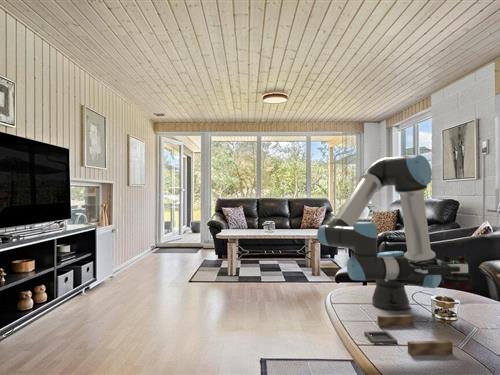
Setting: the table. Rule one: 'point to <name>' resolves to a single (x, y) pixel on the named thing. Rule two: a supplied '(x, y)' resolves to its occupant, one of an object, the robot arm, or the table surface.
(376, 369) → the table surface
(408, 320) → the channel
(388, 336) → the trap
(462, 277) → the binoculars
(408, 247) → the robot arm
